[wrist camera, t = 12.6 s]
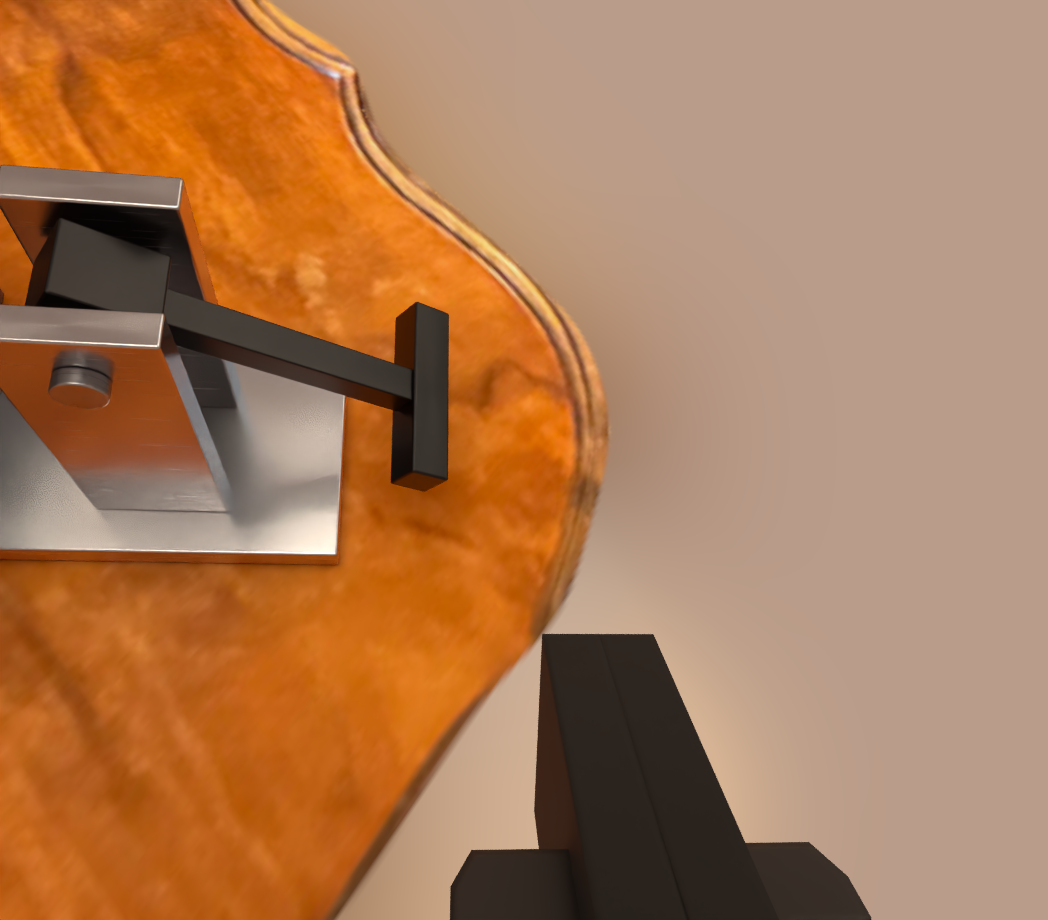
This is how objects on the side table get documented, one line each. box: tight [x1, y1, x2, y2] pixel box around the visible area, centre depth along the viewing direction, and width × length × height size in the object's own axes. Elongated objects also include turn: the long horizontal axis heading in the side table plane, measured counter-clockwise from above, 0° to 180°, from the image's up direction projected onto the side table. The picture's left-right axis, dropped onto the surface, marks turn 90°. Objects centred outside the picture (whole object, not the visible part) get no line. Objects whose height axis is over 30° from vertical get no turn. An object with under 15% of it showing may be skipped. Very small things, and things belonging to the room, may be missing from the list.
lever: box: [25, 218, 449, 492], centre depth 27 cm, size 12×6×2 cm
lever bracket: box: [0, 165, 347, 565], centre depth 28 cm, size 12×8×13 cm, turn 91°
